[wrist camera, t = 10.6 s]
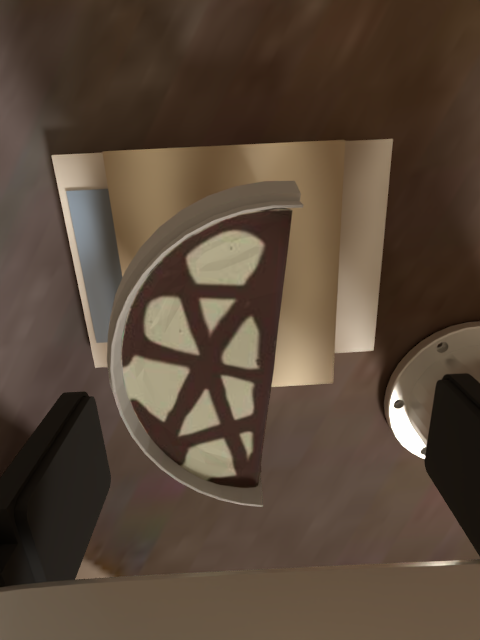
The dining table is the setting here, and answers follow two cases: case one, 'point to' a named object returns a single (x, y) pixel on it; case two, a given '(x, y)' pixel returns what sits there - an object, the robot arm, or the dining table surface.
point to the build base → (304, 242)
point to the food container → (204, 337)
